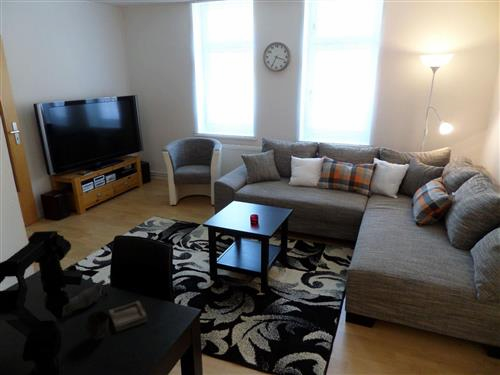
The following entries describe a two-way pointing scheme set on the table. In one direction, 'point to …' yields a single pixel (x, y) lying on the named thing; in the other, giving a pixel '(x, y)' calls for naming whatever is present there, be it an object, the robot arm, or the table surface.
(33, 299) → the table surface
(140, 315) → the birch stand
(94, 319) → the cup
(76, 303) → the decorative bird
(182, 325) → the table surface
